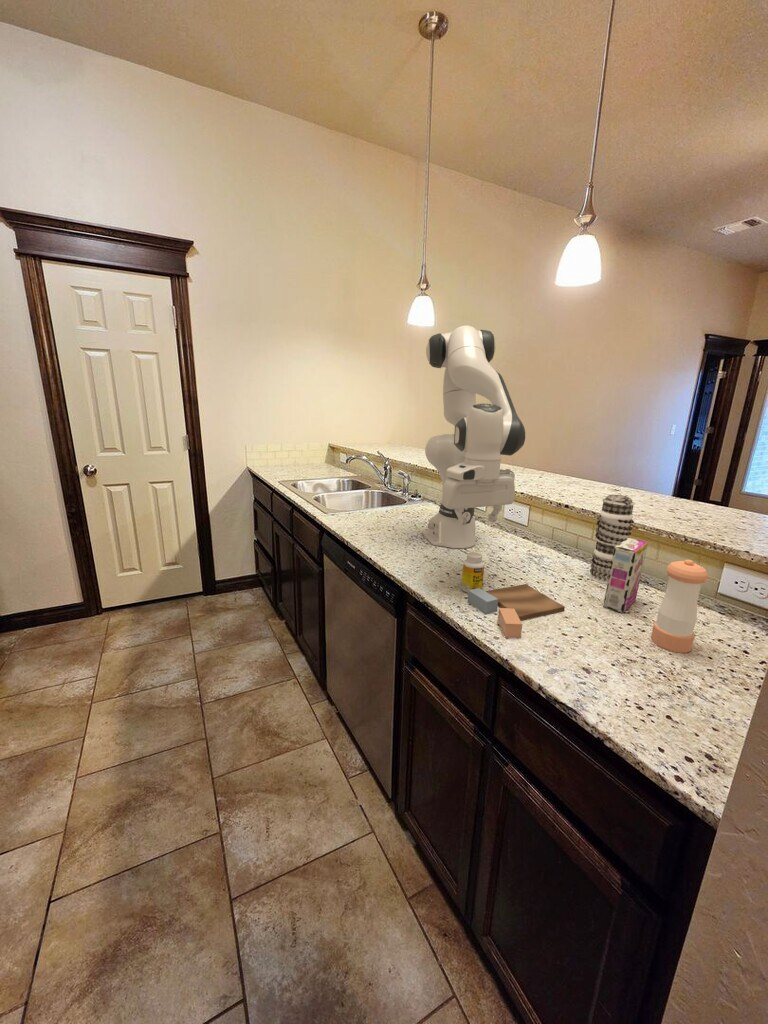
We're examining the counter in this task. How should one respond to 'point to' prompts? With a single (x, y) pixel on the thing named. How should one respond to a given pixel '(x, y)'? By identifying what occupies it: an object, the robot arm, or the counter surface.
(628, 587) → the candy bar box
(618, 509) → the decorative candle
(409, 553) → the counter surface
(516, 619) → the brick terracotta
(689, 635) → the pepper shaker
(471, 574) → the supplement bottle
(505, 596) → the board
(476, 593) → the brick blue
